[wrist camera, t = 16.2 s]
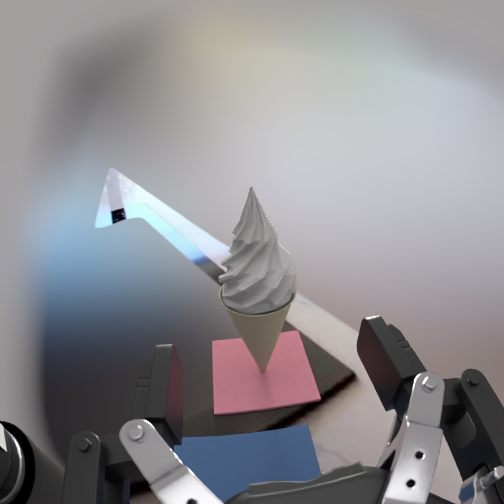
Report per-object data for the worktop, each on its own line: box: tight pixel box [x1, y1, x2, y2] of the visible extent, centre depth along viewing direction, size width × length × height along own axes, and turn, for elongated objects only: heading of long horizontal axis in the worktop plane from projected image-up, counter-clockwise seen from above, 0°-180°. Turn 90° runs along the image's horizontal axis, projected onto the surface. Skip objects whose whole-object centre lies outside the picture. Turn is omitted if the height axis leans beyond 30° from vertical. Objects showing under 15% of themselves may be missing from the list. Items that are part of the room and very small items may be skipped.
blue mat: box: [174, 424, 321, 503], centre depth 14 cm, size 10×9×1 cm
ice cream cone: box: [218, 187, 297, 372], centre depth 19 cm, size 5×5×15 cm
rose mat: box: [212, 330, 321, 415], centre depth 23 cm, size 8×8×1 cm
